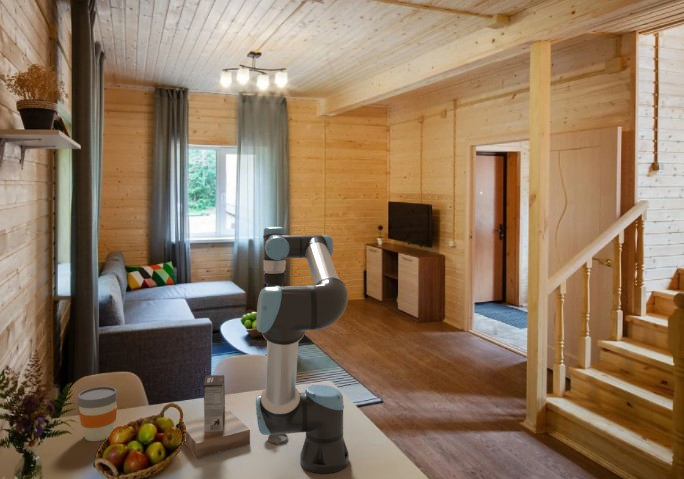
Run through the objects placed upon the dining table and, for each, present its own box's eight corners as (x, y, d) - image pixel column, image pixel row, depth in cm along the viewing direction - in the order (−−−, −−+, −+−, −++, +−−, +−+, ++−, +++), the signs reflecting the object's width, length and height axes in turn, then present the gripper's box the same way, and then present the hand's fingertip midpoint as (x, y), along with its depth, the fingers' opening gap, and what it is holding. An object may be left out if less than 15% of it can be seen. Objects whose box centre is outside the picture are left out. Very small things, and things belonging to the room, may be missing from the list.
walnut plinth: (250, 443, 179) (249, 429, 178) (196, 458, 169) (196, 443, 168) (229, 423, 194) (229, 410, 193) (179, 436, 184) (179, 422, 183)
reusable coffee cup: (126, 432, 186) (125, 391, 185) (92, 447, 176) (90, 403, 175) (105, 423, 193) (103, 383, 192) (71, 437, 183) (69, 394, 182)
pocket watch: (284, 445, 178) (284, 416, 177) (260, 443, 179) (259, 414, 178) (291, 434, 186) (291, 406, 185) (268, 432, 187) (268, 404, 186)
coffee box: (206, 420, 185) (205, 375, 183) (225, 419, 186) (224, 374, 184) (203, 432, 176) (202, 384, 174) (223, 431, 177) (223, 383, 175)
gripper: (301, 275, 178) (301, 338, 180) (269, 266, 199) (269, 322, 201) (281, 277, 174) (281, 341, 176) (250, 267, 194) (250, 325, 197)
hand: (275, 331), depth 188 cm, fingers open, 13 cm apart
